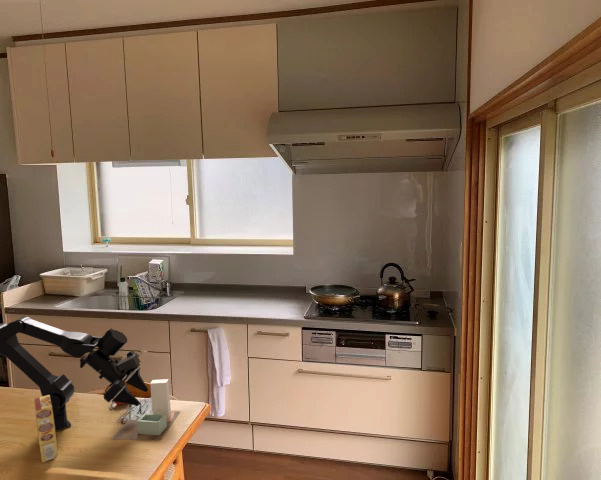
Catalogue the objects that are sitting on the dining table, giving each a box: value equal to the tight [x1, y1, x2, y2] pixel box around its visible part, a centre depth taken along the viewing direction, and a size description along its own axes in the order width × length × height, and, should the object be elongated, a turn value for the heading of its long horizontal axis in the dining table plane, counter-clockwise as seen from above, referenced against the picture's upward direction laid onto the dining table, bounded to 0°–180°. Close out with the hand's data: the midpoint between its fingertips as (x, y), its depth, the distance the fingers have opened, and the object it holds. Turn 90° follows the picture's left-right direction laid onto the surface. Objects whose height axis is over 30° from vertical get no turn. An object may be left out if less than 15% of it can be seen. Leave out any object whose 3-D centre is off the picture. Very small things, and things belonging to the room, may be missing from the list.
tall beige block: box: [149, 378, 172, 419], centre depth 143 cm, size 5×3×12 cm, turn 93°
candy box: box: [33, 395, 59, 463], centre depth 127 cm, size 9×4×15 cm, turn 33°
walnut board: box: [111, 410, 181, 441], centre depth 139 cm, size 15×16×1 cm
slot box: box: [137, 413, 167, 435], centre depth 136 cm, size 7×5×4 cm, turn 80°
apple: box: [108, 388, 130, 410], centre depth 154 cm, size 8×8×6 cm
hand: (143, 397), depth 142 cm, fingers open, 9 cm apart
